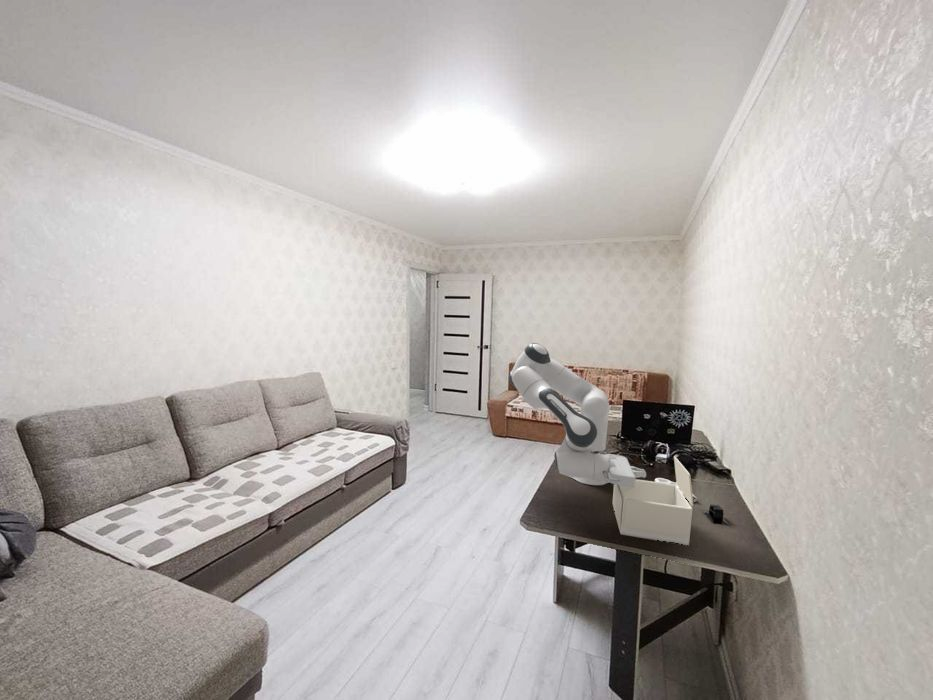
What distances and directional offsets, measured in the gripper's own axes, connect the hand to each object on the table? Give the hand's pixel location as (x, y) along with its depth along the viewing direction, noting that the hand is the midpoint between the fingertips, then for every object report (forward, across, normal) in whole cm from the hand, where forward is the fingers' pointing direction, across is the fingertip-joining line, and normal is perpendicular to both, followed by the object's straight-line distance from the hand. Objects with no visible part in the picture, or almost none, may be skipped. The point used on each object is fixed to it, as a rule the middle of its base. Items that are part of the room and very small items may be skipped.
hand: (645, 473), depth 132 cm
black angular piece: (+28, +15, +19) cm, 36 cm away
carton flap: (+11, 0, 0) cm, 11 cm away
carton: (+2, 0, +18) cm, 18 cm away
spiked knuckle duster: (+17, +31, +19) cm, 40 cm away
